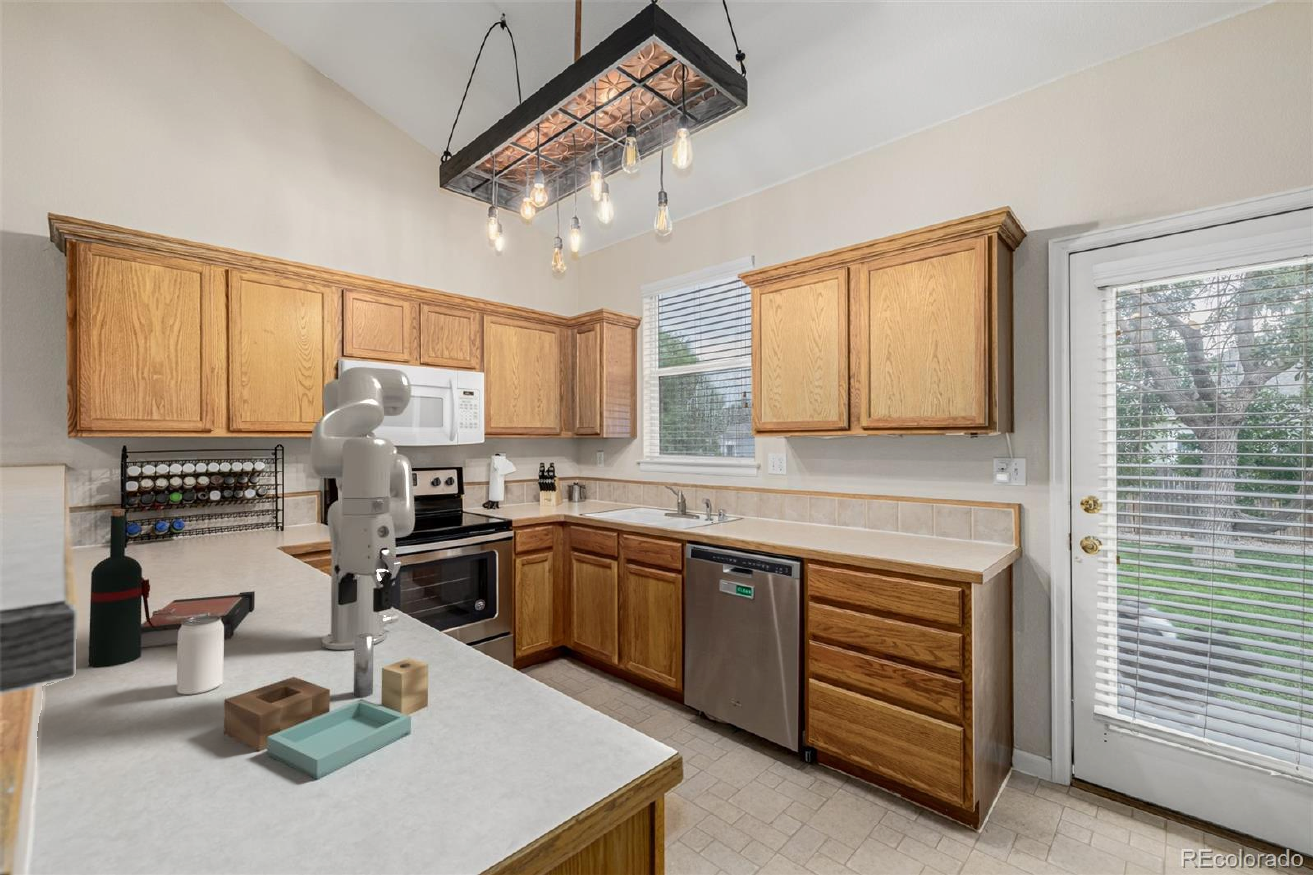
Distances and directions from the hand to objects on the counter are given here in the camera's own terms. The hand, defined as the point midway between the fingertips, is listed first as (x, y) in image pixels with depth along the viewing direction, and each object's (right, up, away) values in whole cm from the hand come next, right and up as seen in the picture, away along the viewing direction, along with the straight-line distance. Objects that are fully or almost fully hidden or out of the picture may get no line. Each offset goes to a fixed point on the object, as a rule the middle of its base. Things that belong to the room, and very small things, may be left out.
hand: (364, 606), depth 100 cm
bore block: (-7, -15, -12) cm, 20 cm away
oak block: (+9, -15, -5) cm, 19 cm away
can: (-30, -15, +2) cm, 34 cm away
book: (-58, -16, +36) cm, 70 cm away
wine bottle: (-57, -15, +16) cm, 61 cm away
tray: (+5, -15, -17) cm, 23 cm away
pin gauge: (0, -15, 0) cm, 15 cm away
